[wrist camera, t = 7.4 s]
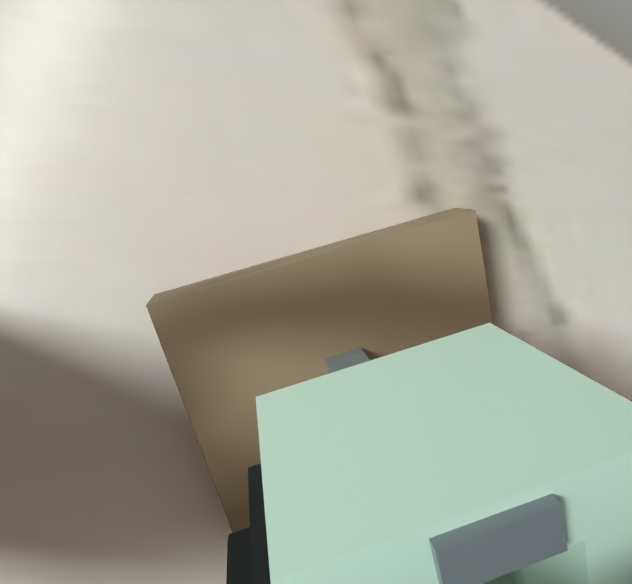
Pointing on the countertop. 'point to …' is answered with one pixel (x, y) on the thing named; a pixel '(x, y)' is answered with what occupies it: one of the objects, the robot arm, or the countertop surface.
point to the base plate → (311, 327)
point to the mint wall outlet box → (448, 470)
